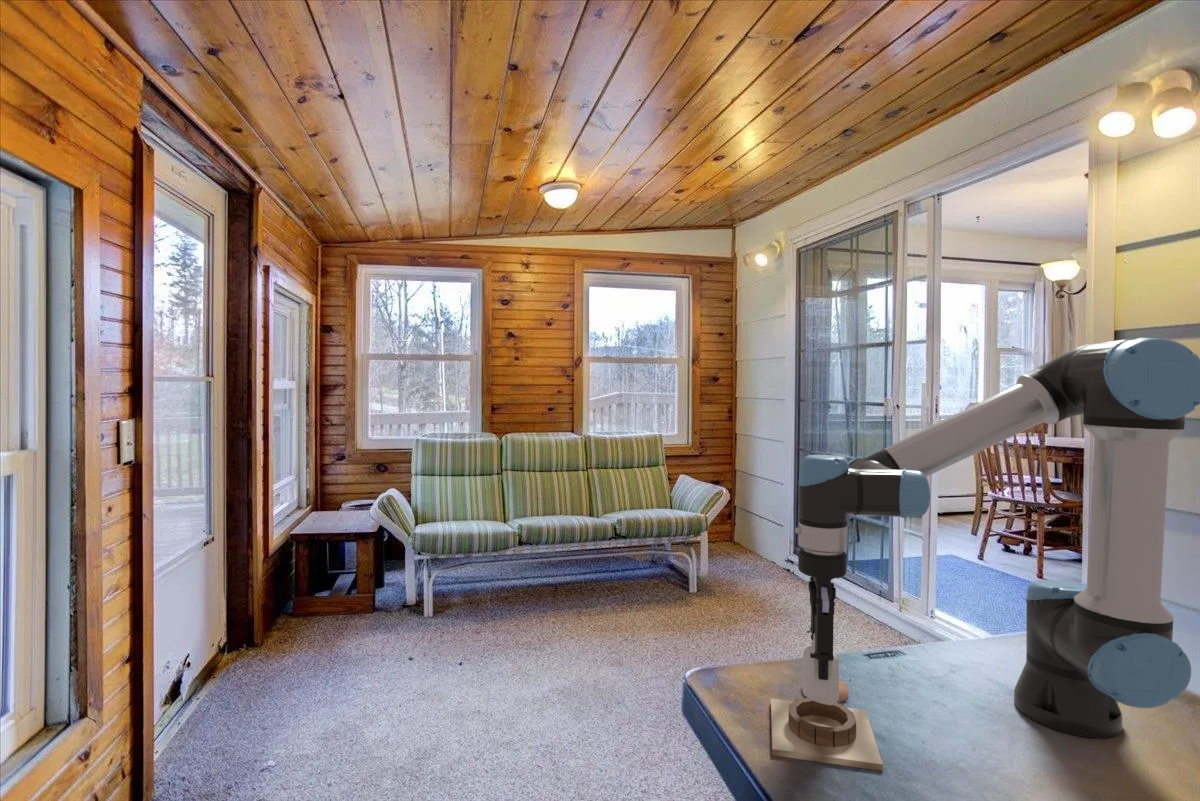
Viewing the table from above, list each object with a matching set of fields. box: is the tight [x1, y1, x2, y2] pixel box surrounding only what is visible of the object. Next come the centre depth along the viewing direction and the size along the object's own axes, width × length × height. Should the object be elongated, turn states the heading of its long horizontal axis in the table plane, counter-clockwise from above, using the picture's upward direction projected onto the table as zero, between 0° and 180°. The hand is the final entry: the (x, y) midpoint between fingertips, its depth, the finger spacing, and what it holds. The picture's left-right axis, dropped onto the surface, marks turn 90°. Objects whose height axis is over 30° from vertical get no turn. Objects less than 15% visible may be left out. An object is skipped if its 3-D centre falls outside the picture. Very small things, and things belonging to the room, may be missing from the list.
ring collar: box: [770, 697, 884, 772], centre depth 102 cm, size 16×16×4 cm
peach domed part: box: [837, 679, 849, 704], centre depth 116 cm, size 8×8×2 cm
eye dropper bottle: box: [802, 633, 840, 705], centre depth 102 cm, size 4×6×12 cm
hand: (820, 688), depth 102 cm, fingers closed on eye dropper bottle, 4 cm apart
